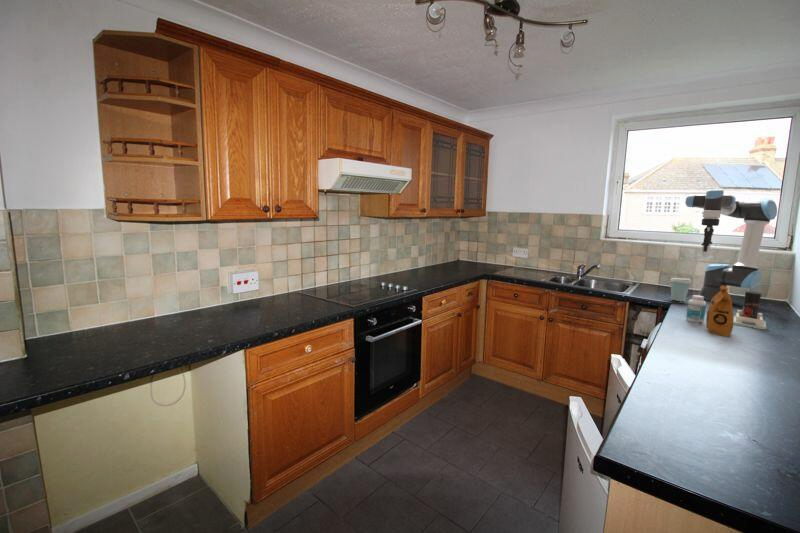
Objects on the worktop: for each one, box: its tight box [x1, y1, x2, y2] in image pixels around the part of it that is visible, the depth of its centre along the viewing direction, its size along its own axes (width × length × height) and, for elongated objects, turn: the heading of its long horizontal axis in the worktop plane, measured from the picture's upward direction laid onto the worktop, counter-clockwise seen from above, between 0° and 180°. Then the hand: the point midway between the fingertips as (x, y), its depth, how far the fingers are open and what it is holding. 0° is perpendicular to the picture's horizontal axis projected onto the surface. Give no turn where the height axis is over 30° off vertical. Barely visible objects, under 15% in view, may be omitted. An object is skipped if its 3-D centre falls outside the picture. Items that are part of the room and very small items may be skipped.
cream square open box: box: [733, 309, 767, 331], centre depth 197 cm, size 14×13×5 cm
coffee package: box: [705, 286, 735, 338], centre depth 181 cm, size 10×12×22 cm
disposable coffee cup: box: [670, 277, 692, 302], centre depth 241 cm, size 11×11×15 cm
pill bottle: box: [685, 294, 707, 324], centre depth 199 cm, size 8×7×14 cm
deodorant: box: [741, 290, 762, 319], centre depth 197 cm, size 6×6×15 cm
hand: (705, 256), depth 215 cm, fingers open, 13 cm apart
